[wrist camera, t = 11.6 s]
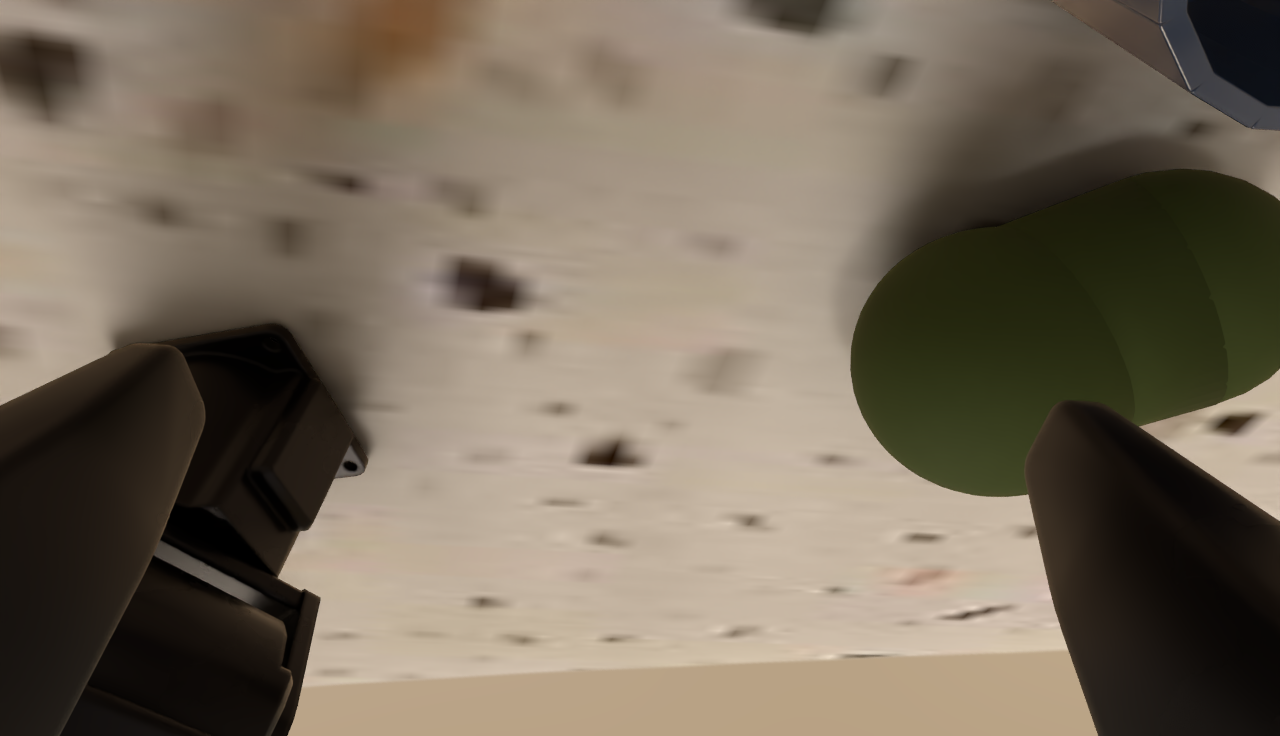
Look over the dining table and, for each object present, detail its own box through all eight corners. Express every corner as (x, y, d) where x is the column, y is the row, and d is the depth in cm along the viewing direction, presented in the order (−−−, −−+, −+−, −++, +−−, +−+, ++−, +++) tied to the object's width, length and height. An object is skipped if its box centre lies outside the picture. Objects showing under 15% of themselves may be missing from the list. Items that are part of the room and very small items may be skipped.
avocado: (870, 405, 25) (921, 580, 20) (799, 241, 21) (839, 402, 16) (1260, 279, 21) (1450, 450, 16) (1256, 56, 18) (1502, 183, 12)
